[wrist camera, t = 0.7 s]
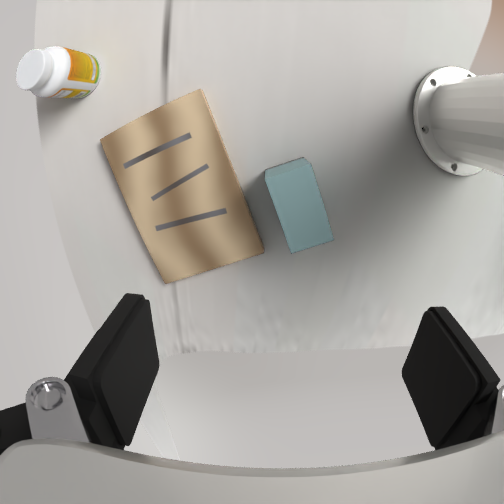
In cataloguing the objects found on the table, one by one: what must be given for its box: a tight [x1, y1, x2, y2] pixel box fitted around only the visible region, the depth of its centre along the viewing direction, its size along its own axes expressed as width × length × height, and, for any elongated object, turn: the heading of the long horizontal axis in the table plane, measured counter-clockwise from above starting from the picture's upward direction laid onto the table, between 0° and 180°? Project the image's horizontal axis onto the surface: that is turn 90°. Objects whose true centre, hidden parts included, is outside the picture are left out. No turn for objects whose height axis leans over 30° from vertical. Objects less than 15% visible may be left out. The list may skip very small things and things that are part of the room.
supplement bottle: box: [16, 46, 101, 98], centre depth 22 cm, size 5×5×10 cm
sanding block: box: [265, 157, 334, 254], centre depth 29 cm, size 7×4×6 cm, turn 20°
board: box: [100, 89, 264, 284], centre depth 31 cm, size 12×18×1 cm, turn 20°
